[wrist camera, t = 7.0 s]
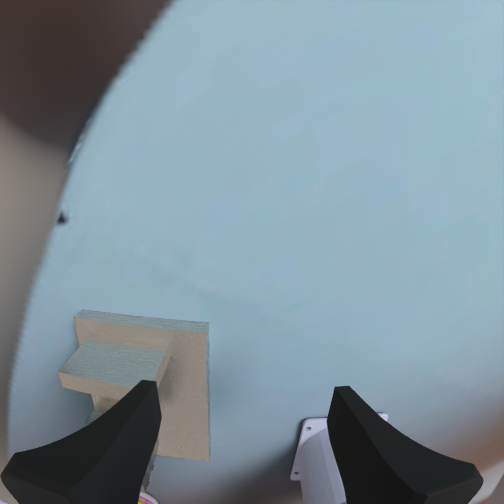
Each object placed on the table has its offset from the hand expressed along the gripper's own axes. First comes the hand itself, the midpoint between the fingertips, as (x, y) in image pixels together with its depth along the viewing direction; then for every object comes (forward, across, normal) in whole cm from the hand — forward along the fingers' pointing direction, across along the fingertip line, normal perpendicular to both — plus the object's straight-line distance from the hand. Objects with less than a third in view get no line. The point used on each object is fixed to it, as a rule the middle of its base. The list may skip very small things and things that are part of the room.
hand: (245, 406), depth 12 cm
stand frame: (+10, +8, +8) cm, 15 cm away
